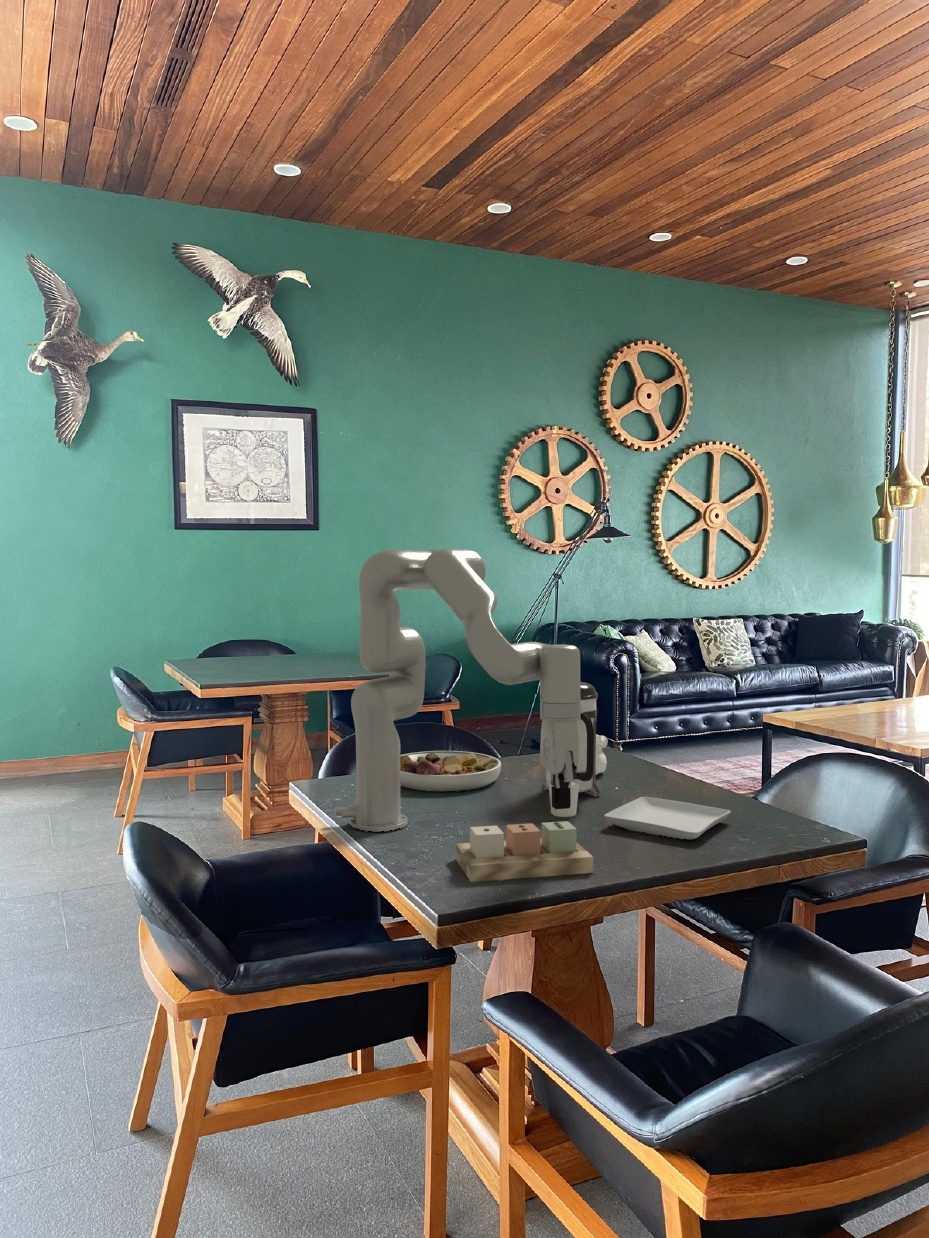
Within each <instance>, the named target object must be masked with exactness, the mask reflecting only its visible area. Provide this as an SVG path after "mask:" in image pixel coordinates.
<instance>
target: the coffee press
mask: <svg viewBox="0 0 929 1238" xmlns="http://www.w3.org/2000/svg"><path fill="white" fill-rule="evenodd" d="M598 695H599V694H598V692H597V691H596V688H595V687H594V685H592V684H590V683H587V682H584V681H580V710H581V715H580V716H581V719H580V720H577V726H578V739H579V770H578V772H577V773H573V781H575V782H577V783H579V790H578V793H583V792H586V793H587V792H588V793H590V795H591V796H592V797H594V798H596V797H597V798H598V796H600V795H601V792H600V790H599V789H598V786H597V783H596V776H597V775H596V735H597V717H598V708H597V699H598V697H599V696H598ZM545 773H546V774H545V776H546V777H545V781H544V783H542V786H541V789H542V790H543V791H547V790H549V782H551V772H549V771H548V770H546V769H545ZM545 785H546V786H548V787H547V788H546V787H545ZM593 788H594V790H595V792H596V793H597V795H596V793H595V792H594V791H593V790H592V789H593Z"/></svg>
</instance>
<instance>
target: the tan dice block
mask: <svg viewBox="0 0 929 1238" xmlns="http://www.w3.org/2000/svg"><path fill="white" fill-rule="evenodd" d="M541 837H542V830H540V829H539V828H538V826H536V825H535V824H534V823H516V824H506V825H505V840H506V850H507V851H508V852H509V853H510V855H511V856H521V855H536V854H540V841H541Z"/></svg>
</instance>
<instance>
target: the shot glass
mask: <svg viewBox="0 0 929 1238" xmlns="http://www.w3.org/2000/svg"><path fill="white" fill-rule="evenodd" d="M548 788H549V789H548V791H549V792H548V794H549V802H550V814H551V815H552V814H553V816H555V817H559V818H560V817H561V818H569V817H570V818H571V817H574V816H576V815H577V807H578V799H579V792H578V790H579V783H577V782H575V781H573V782H571V788H570V792H571V807H570V808H568V809H555V808H553V807H552V784H551V782H549V786H548Z"/></svg>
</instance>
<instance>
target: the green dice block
mask: <svg viewBox="0 0 929 1238" xmlns="http://www.w3.org/2000/svg"><path fill="white" fill-rule="evenodd" d="M577 831H578V830H577V828H576V827H575V826H574V825H573V824H572V823H570V822H569V821H568V820H567V821H552V822H551V821H550V822H541V847H542V848H543V849H544V850H545V851H546V852H547V853H548V854H550V853H564V852H576V842H577V834H578V833H577Z"/></svg>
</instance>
